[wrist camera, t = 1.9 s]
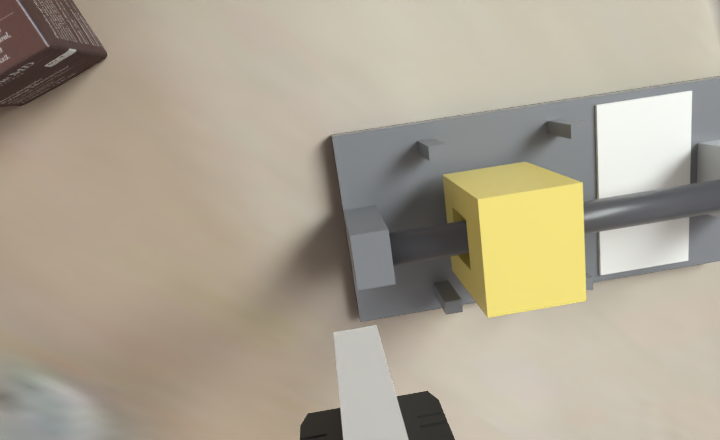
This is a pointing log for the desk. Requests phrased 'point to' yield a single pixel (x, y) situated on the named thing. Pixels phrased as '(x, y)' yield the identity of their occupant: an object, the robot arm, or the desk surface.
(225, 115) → the desk surface
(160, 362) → the desk surface
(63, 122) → the desk surface
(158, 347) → the desk surface
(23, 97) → the box
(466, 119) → the gray rail plate
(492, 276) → the sleeve
